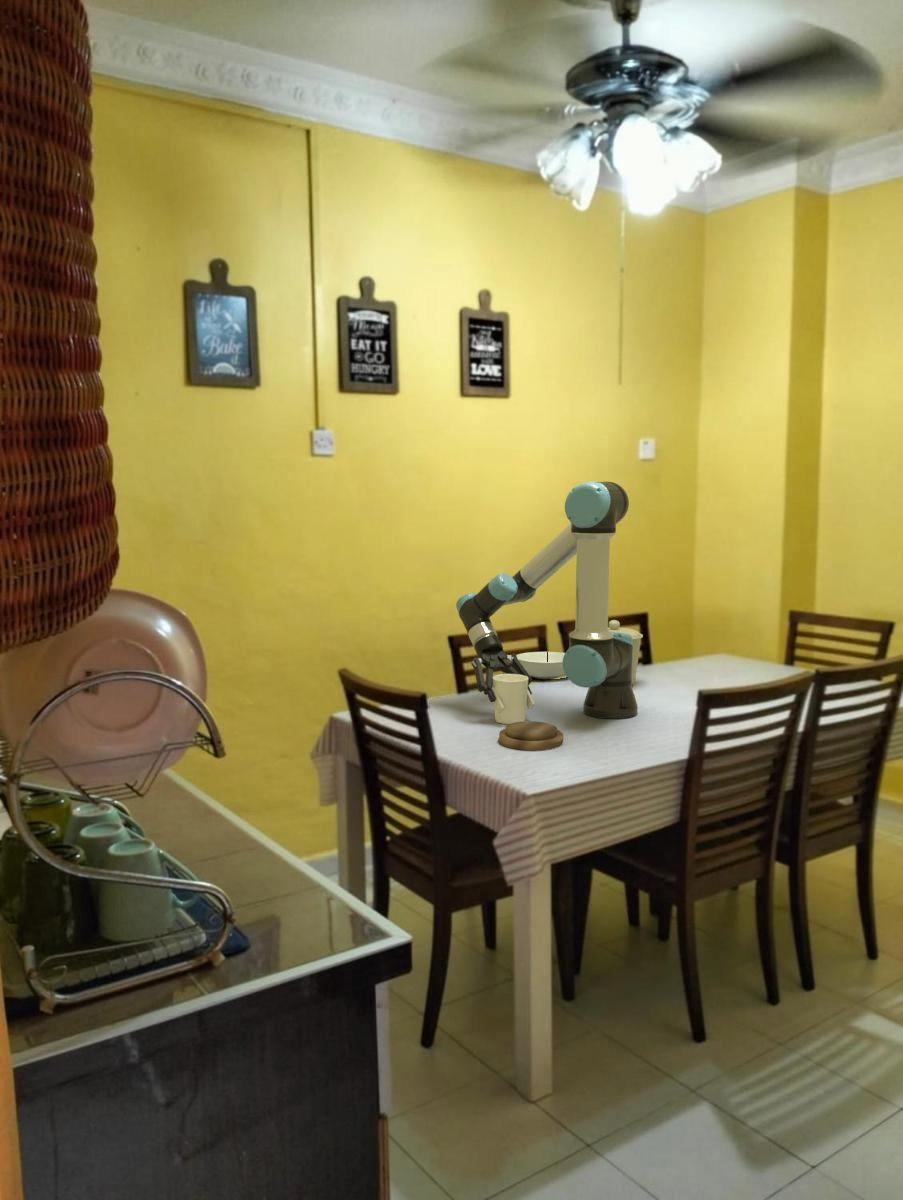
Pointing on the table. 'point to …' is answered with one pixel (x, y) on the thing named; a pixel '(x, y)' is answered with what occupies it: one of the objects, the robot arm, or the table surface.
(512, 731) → the walnut pedestal
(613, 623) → the canister
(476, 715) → the table surface
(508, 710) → the candle holder
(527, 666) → the serving bowl
